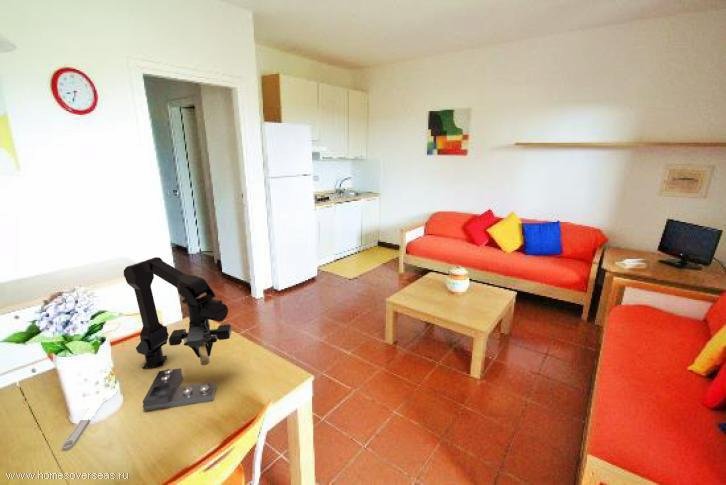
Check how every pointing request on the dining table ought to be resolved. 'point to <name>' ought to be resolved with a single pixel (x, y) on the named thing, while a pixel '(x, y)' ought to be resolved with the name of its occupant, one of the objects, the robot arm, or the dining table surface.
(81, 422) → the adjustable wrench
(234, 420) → the dining table surface
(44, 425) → the dining table surface
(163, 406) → the chain ends
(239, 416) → the dining table surface
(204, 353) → the pin
